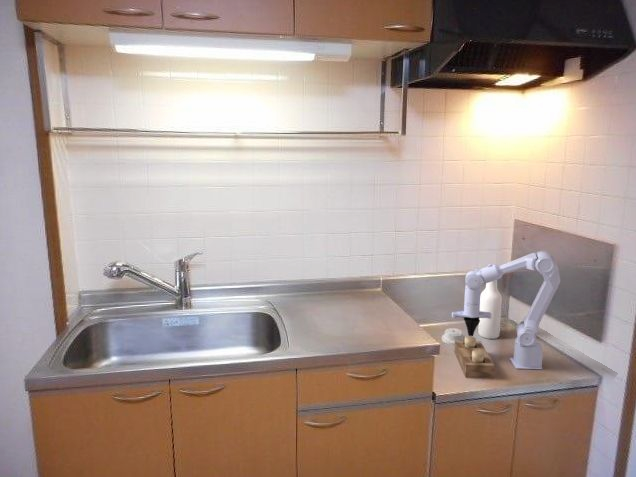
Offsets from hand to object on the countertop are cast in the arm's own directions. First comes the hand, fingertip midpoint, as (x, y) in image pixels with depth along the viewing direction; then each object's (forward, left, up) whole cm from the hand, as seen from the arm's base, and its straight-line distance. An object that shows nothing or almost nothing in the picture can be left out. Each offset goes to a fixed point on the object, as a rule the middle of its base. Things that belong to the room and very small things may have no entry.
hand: (470, 335), depth 178 cm
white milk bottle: (-13, -21, -10) cm, 26 cm away
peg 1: (0, 0, -6) cm, 6 cm away
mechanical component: (+3, -15, -10) cm, 18 cm away
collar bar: (0, +6, -9) cm, 11 cm away
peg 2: (0, +12, -6) cm, 14 cm away
